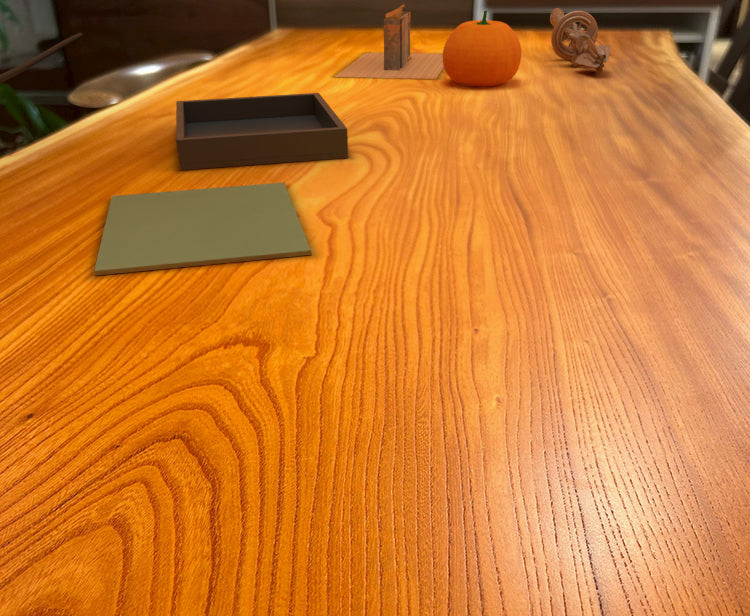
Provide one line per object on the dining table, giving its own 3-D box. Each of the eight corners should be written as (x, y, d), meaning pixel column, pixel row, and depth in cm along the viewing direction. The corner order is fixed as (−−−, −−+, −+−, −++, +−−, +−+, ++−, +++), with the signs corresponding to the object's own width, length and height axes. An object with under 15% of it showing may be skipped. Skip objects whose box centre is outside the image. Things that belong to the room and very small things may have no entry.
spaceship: (580, -1, 145) (543, -18, 143) (638, 48, 117) (593, 27, 115) (559, 41, 149) (523, 25, 147) (610, 97, 121) (566, 79, 119)
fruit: (453, 74, 124) (455, 5, 119) (526, 78, 121) (531, 7, 115) (432, 88, 115) (433, 14, 110) (510, 92, 111) (516, 16, 106)
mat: (112, 200, 72) (111, 195, 71) (284, 186, 74) (284, 182, 74) (94, 275, 57) (93, 270, 56) (311, 254, 59) (311, 250, 59)
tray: (180, 127, 96) (176, 101, 95) (320, 117, 99) (318, 92, 98) (180, 170, 80) (176, 140, 78) (348, 157, 83) (347, 128, 81)
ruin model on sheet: (435, 79, 121) (437, 10, 116) (334, 77, 124) (331, 10, 119) (453, 53, 142) (455, -5, 137) (366, 52, 145) (365, -5, 140)
